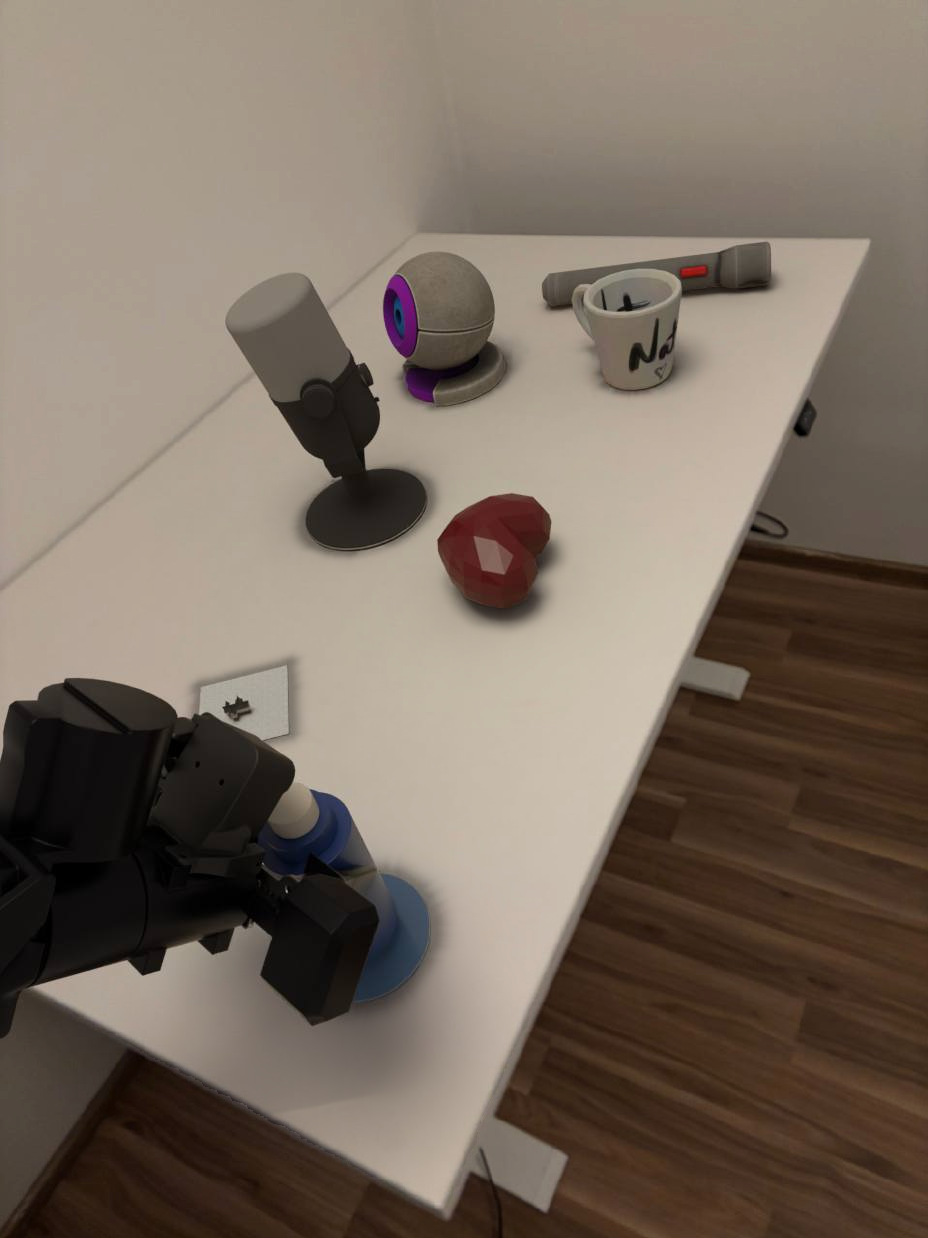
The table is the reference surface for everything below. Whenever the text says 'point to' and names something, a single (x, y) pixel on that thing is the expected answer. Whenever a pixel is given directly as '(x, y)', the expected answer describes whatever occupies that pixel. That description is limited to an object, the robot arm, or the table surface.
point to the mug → (632, 324)
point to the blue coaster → (397, 944)
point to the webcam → (443, 328)
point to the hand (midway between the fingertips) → (340, 851)
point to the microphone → (325, 411)
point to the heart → (495, 548)
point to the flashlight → (677, 272)
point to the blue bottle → (323, 846)
